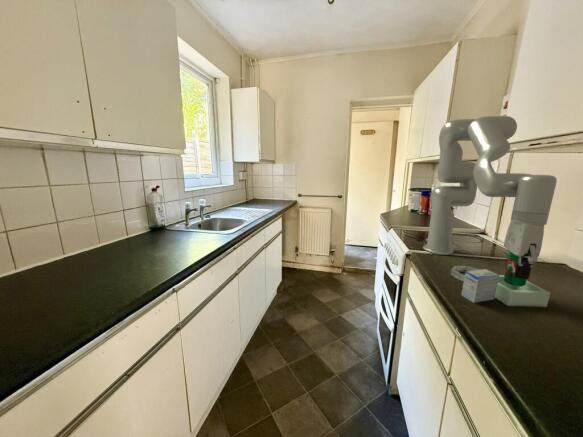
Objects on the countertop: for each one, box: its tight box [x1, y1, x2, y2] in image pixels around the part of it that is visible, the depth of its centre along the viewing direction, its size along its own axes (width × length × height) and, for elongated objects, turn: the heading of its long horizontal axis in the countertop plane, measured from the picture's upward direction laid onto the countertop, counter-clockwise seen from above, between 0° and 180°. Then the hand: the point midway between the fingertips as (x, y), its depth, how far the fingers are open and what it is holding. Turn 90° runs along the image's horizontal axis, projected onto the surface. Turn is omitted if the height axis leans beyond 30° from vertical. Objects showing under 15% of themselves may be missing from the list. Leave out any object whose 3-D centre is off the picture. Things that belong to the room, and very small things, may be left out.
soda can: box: [503, 251, 529, 287], centre depth 71 cm, size 5×5×12 cm
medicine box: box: [461, 268, 500, 303], centre depth 72 cm, size 8×4×9 cm, turn 102°
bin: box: [494, 274, 551, 308], centre depth 73 cm, size 11×11×5 cm
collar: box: [450, 265, 481, 282], centre depth 86 cm, size 11×11×2 cm
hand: (516, 273), depth 72 cm, fingers closed on soda can, 5 cm apart
